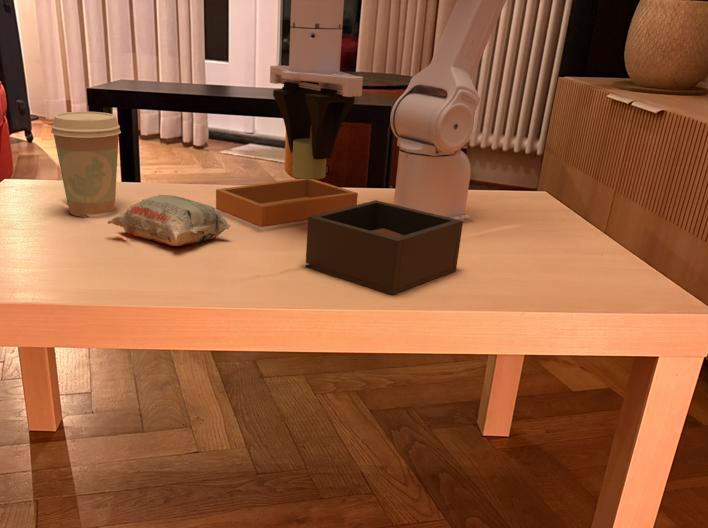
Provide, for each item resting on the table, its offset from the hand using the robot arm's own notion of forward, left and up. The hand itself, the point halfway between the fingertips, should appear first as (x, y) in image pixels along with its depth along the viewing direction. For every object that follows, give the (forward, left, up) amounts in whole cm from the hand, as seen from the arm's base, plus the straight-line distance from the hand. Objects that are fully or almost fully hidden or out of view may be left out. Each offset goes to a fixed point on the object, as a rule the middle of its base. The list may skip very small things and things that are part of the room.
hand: (309, 155), depth 91 cm
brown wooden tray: (-4, -9, -9) cm, 13 cm away
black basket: (+1, +15, -9) cm, 18 cm away
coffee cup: (+18, -22, -10) cm, 30 cm away
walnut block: (+4, +17, -9) cm, 20 cm away
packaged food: (+16, -5, -10) cm, 20 cm away
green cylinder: (0, 0, -2) cm, 2 cm away
